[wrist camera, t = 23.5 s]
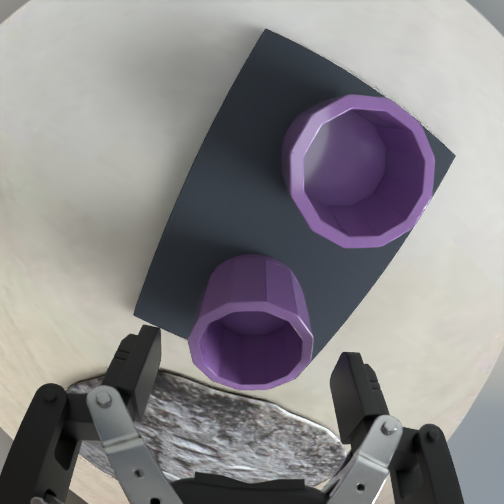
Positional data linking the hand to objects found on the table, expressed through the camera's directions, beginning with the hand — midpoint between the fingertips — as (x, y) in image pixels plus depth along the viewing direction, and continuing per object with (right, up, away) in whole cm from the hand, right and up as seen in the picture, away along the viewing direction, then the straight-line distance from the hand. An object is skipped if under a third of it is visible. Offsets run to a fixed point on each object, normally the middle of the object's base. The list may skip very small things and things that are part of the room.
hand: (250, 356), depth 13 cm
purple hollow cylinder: (+4, +9, +1) cm, 10 cm away
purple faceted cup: (0, +2, +5) cm, 5 cm away
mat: (+2, +5, +4) cm, 7 cm away
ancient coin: (-7, -21, +16) cm, 27 cm away
